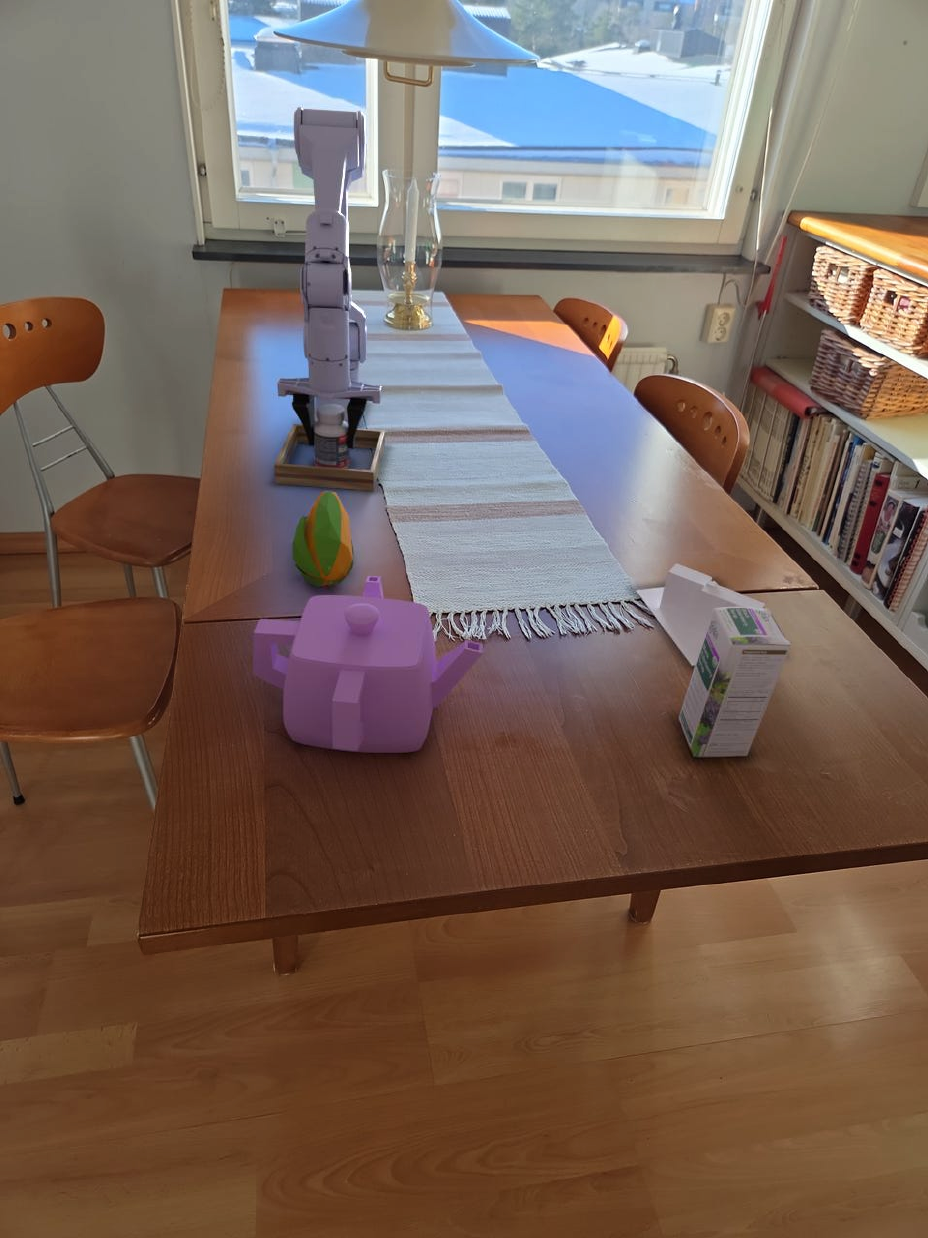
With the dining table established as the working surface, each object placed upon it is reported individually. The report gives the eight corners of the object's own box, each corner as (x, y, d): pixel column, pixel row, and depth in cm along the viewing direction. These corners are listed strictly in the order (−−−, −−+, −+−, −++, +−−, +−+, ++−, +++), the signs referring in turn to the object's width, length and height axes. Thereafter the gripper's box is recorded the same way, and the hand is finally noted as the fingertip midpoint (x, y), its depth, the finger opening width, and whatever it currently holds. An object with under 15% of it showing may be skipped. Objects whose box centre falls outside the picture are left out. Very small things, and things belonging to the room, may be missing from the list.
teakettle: (245, 701, 85) (232, 602, 78) (377, 636, 95) (377, 542, 87) (346, 801, 76) (343, 700, 68) (482, 718, 85) (492, 621, 78)
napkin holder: (780, 653, 97) (794, 613, 94) (692, 666, 94) (704, 626, 91) (713, 580, 108) (724, 542, 105) (634, 590, 105) (642, 552, 102)
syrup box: (676, 718, 87) (709, 605, 78) (731, 717, 88) (770, 605, 79) (692, 758, 83) (730, 643, 74) (750, 758, 83) (794, 643, 75)
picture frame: (294, 441, 133) (293, 423, 131) (384, 447, 133) (385, 430, 131) (275, 483, 121) (273, 465, 120) (373, 491, 121) (373, 472, 120)
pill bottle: (343, 475, 125) (342, 419, 119) (310, 470, 125) (307, 413, 120) (354, 460, 129) (353, 404, 124) (322, 455, 130) (319, 399, 124)
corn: (289, 547, 94) (297, 464, 110) (289, 602, 99) (296, 515, 114) (356, 550, 95) (354, 468, 111) (353, 604, 100) (351, 518, 116)
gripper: (270, 360, 114) (277, 452, 122) (377, 368, 114) (377, 459, 122) (281, 342, 119) (287, 431, 127) (383, 350, 119) (382, 438, 128)
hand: (331, 444), depth 125 cm, fingers closed on pill bottle, 5 cm apart
